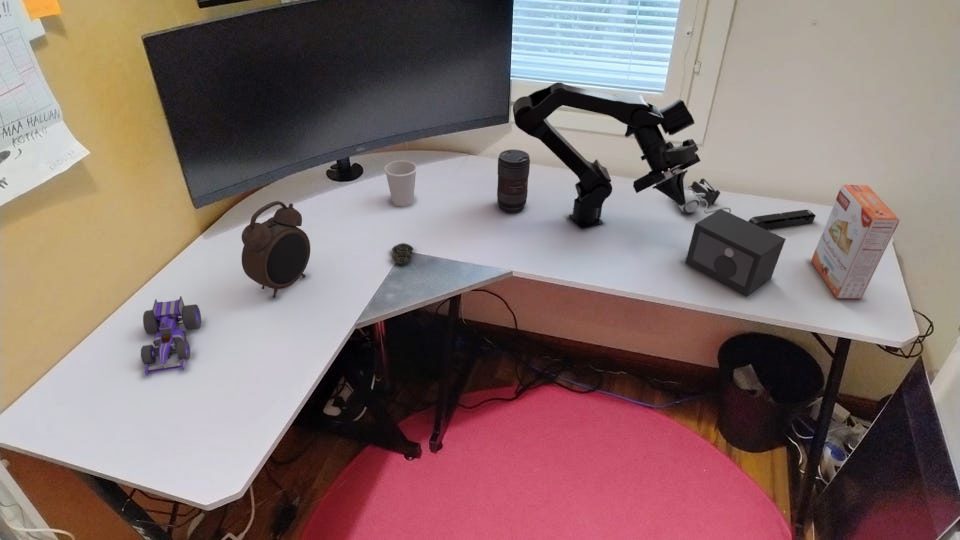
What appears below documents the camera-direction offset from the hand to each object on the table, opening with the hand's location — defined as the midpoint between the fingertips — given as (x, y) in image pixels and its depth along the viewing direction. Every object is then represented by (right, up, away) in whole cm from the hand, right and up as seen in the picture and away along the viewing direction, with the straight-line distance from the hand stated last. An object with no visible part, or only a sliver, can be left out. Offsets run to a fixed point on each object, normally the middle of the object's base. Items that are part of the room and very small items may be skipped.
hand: (683, 204), depth 144 cm
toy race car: (-108, -30, -24) cm, 114 cm away
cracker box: (+33, -18, -5) cm, 37 cm away
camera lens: (-39, +1, +19) cm, 44 cm away
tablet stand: (+29, -4, +13) cm, 32 cm away
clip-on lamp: (+11, 0, +19) cm, 21 cm away
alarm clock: (-90, -19, -8) cm, 93 cm away
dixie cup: (-68, +3, +21) cm, 71 cm away
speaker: (+9, -15, -3) cm, 18 cm away
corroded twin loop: (-66, -12, +1) cm, 67 cm away
